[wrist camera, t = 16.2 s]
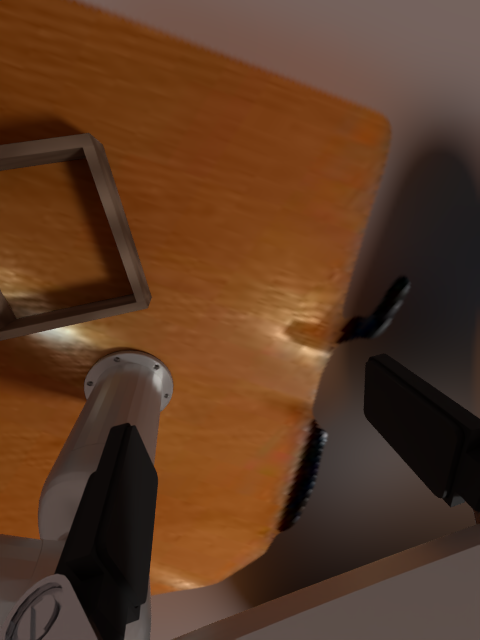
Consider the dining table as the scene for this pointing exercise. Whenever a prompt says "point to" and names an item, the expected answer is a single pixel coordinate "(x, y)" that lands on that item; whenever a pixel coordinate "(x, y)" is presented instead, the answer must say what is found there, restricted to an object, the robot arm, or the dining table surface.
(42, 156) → the grey square frame
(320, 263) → the dining table surface
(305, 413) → the dining table surface
